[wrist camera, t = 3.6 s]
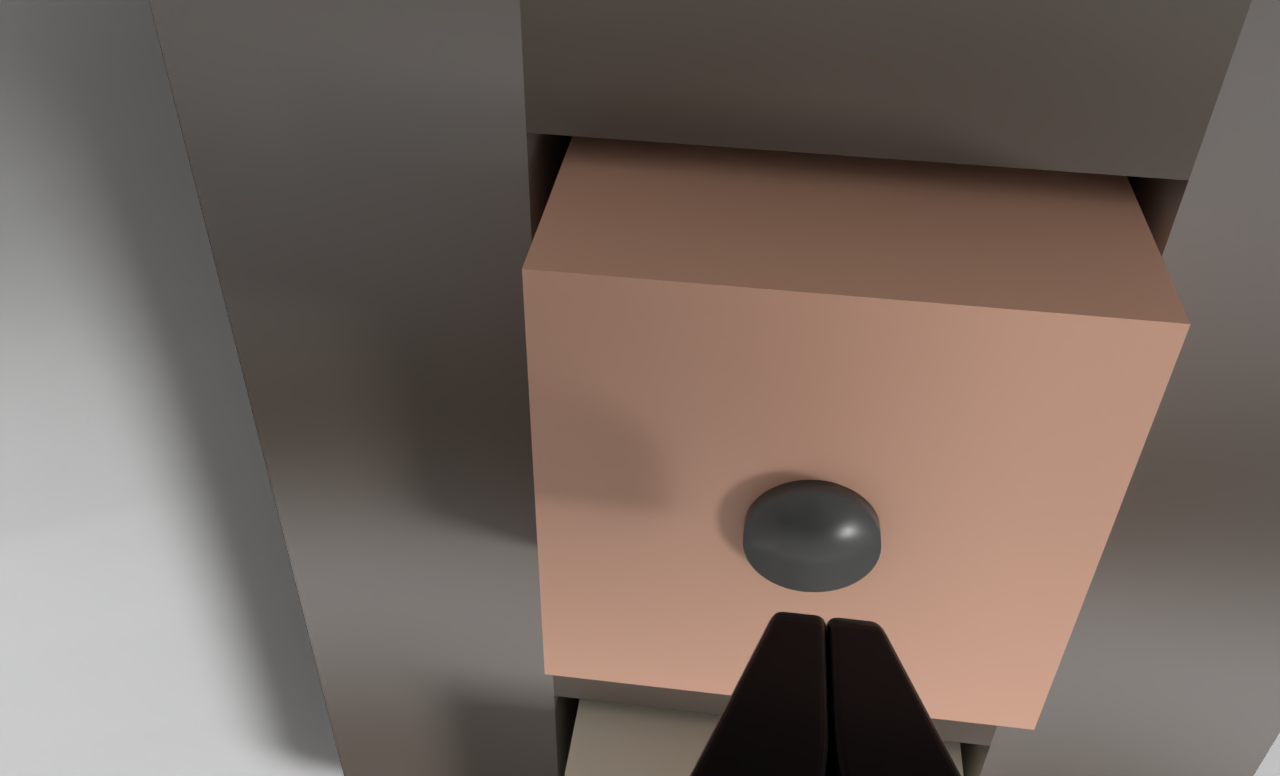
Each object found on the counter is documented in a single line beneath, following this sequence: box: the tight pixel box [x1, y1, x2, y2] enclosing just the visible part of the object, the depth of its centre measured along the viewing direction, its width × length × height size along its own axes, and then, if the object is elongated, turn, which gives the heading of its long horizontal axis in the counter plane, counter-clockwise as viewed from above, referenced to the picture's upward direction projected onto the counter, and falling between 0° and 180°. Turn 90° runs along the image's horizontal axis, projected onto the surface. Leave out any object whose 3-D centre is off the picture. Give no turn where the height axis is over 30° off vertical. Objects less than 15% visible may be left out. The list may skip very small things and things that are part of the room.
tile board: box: [149, 0, 1280, 776], centre depth 13 cm, size 24×12×2 cm, turn 179°
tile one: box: [522, 136, 1191, 730], centre depth 11 cm, size 5×5×3 cm
